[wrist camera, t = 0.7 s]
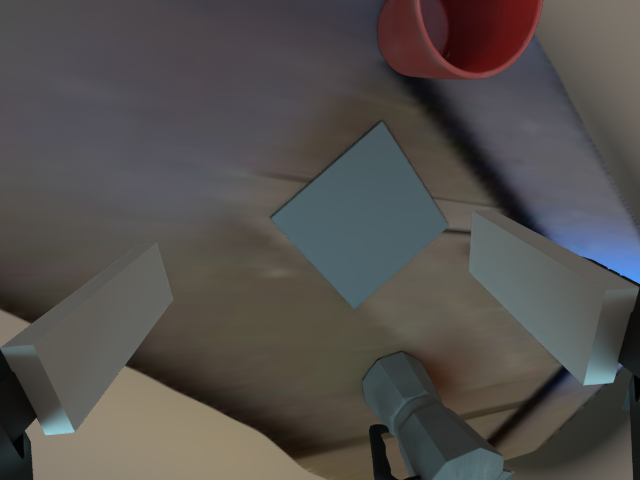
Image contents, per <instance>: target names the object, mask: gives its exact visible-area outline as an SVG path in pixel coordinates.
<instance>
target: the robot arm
mask: <svg viewBox="0 0 640 480" xmlns="http://www.w3.org/2000/svg"><path fill="white" fill-rule="evenodd" d="M469 272H470V273H471V274H472V275H473V276H474V277H475V278H476V279H477V280H478V281H479V282H480V283H481V284H482V285H483V286H484V287H485V288H486V289H487V290H488V291H489V292H490V293H491V294H492V295H493V296H494V297H495V298H496V299H497V300H498V301H499V302H500V303H501V304H502V305H503V306H504V307H505V308H506V309H507V310H508V311H509V312H510V313H511V314H512V315H513V316H514V317H515V318H516V319H517V320H518V321H519V322H520V323H521V324H522V325H523V326H524V327H525V328H526V329H527V330H528V331H529V332H530V333H531V334H532V335H533V336H534V337H535V338H536V339H537V340H538V341H539V342H540V343H541V344H542V345H543V346H544V347H545V348H546V349H547V350H548V351H549V352H550V353H551V354H552V355H553V356H554V357H555V358H556V359H557V360H558V361H559V362H560V363H561V364H562V365H563V366H564V367H565V368H566V369H567V370H568V371H569V372H570V373H571V374H572V375H573V376H574V377H575V378H576V379H577V380H578V381H579V382H580V383H581V384H582V385H592V384H603V383H613V382H614V378H615V375H616V371H617V367H618V364H619V363H620V364H622V365H623V366H624V367H625V368H627V369H628V370H629V371H630V372H632V373H633V374H632V377H631V381H630V384H629V388H628V391H627V394H626V398H625V401H624V404H623V408H622V410H625V411H628V410H629V408H630V420H631V441H632V463H633V480H640V284H639V283H637V282H635V281H633V280H631V279H629V278H627V277H625V276H620V274H619V273H617V272H615V271H613V270H611V269H608V267H606V266H604V265H602V264H600V263H598V262H596V261H594V260H591V259H588V258H585V257H582V256H579V255H577V254H575V253H573V252H572V251H570V250H568V249H566V248H564V247H562V246H560V245H558V244H556V243H554V242H553V241H551V240H549V239H547V238H545V237H543V236H541V235H539V234H537V233H535V232H534V231H532V230H530V229H528V228H526V227H524V226H522V225H520V224H518V223H516V222H514V221H513V220H511V219H509V218H507V217H505V216H503V215H501V214H499V213H497V212H495V211H494V210H492V209H490V210H480V211H473V217H472V231H471V245H470V260H469ZM172 301H173V297H172V293H171V290H170V286H169V283H168V279H167V276H166V272H165V269H164V265H163V262H162V258H161V255H160V251H159V248H158V244H157V242H150V243H140V244H137V245H136V246H135V247H133V248H132V249H131V250H129V251H128V252H127V253H125V254H124V255H123V256H121V257H120V258H119V259H117V260H116V261H115V262H113V263H112V264H111V265H110V266H108V267H107V268H106V269H104V270H103V271H102V272H100V273H99V274H98V275H96V276H95V277H94V278H92V279H91V280H90V281H88V282H87V283H86V284H84V285H83V286H82V287H80V288H79V289H78V290H76V291H75V292H74V293H72V294H71V295H70V296H68V297H67V298H66V299H64V300H63V301H62V302H60V303H59V304H58V305H56V306H55V307H54V308H52V309H51V310H50V311H48V312H47V313H46V314H44V315H43V316H42V317H40V318H39V319H38V320H36V321H35V322H34V323H32V324H31V325H30V326H28V327H27V328H26V329H24V331H22V332H20V333H19V334H18V335H16V336H15V337H14V338H12V339H11V340H10V341H8V342H7V343H6V344H5V345H3V346H2V347H1V348H0V480H33V469H32V455H31V441H30V440H29V438H28V436H27V434H26V432H25V430H26V429H27V428H28V426H29V425H30V424H31V423H32V422H33V421H34V420H35V419H36V418H37V419H38V421H39V423H40V425H41V427H42V429H43V431H44V433H45V435H52V434H62V433H74V432H76V430H77V429H78V427H79V426H80V425H81V423H82V422H83V421H84V419H85V418H86V417H87V415H88V414H89V412H90V411H91V410H92V409H93V407H94V406H95V405H96V403H97V402H98V401H99V399H100V398H101V396H102V395H103V394H104V392H105V391H106V390H107V388H108V387H109V385H110V384H111V383H112V381H113V380H114V379H115V378H116V376H117V375H118V373H119V372H120V371H121V369H122V368H123V367H124V365H125V364H126V363H127V361H128V360H129V359H130V357H131V356H132V355H133V353H134V352H135V351H136V349H137V348H138V347H139V345H140V344H141V342H142V341H143V340H144V338H145V337H146V336H147V334H148V333H149V332H150V330H151V329H152V328H153V326H154V325H155V324H156V322H157V321H158V320H159V318H160V317H161V315H162V314H163V313H164V311H165V310H166V309H167V307H168V306H169V305H170V303H171V302H172Z"/></svg>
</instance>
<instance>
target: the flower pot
mask: <svg viewBox="0 0 640 480" xmlns="http://www.w3.org/2000/svg"><path fill="white" fill-rule="evenodd" d="M542 6H543V0H387V1H386V3H385V4H384V6H383V8H382V11H381V14H380V17H379V22H378V42H379V46H380V49H381V51H382V54H383V57H384V59H385V60H386V62H387V63H388V64H389V65H390V66H391V67H392V68H393V69H394V70H395V71H397V72H398V73H400V74H403V75H406V76H412V77H422V78H434V79H483V78H488V77H491V76H494V75H496V74H498V73H500V72H502V71H504V70H505V69H507V68H508V67H509V66H510V65H512V64H513V63H514V62H515V61H516V60H517V59H518V58H519V57H520V56H521V54H522V53H523V52H524V50H525V49H526V48H527V46H528V44H529V43H530V41H531V39H532V37H533V35H534V33H535V30H536V27H537V25H538V21H539V19H540V15H541V10H542Z"/></svg>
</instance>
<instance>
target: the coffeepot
mask: <svg viewBox="0 0 640 480" xmlns="http://www.w3.org/2000/svg"><path fill="white" fill-rule="evenodd" d="M362 384H363V393H364V398H365V402H366V404H367V405H368V406H369V407H370V409H371V410H372V411H373V412H374V413H375V415H376V416H377V417H378V418H379V420H380V421H381V422H382V423H383V424H384V425H382V424H375V425H372V426H370V429H369V434H370V443H371V451H372V460H373V470H374V478H375V480H398V479H396V478H395V477H394V476H392V475H391V468H390V465H389V462H388V459H387V457H386V446H385V443H384V441H383V439H382V437H381V434H383V433H386V432H387V433H388V432H390V433H391V434H392V435H394V436H395V437H397V439H398V440H399V447H400V452H401V455H402V457H403V460H404V463H405V465H406V468H407V470H408V473H409V476H410V477H409V478H406V479H404V480H511V478H512V476H511V475H512V474H514V472H513V471H509V470H506V469H503V456H502V455H501V454H500V453H499V452H498V451H497V450H496V449H495V448H494V447H492V446H491V445H490V444H489V443H488V442H487V441H486V440H485V439H484V438H483V437H481V436H480V435H479V434H478V433H477V432H476V431H475V430H474V429H473V428H472V427H470V426H469V425H468V424H467V423H466V422H465V421H464V420H463V419H462V418H460V417H459V416H458V415H457V414H456V413H455V412H454V411H452V410H450V409H448V408H446V407H445V406H444V405H443V404H442V401H441V397H440V395H439V393H438V392H437V390H436V388H435V386H434V385H433V383H432V381H431V379H430V377H429V376H428V374H427V372H426V370H425V368H424V367H423V365H422V363H421V361H419V360H417V359H415V358H414V357H412V356H411V355H408V354H406V353H403V352H399V353H394V354H390V355H387V356H385V357H383V358H381V359H380V360H377V361H376V362H375V363H374V364H373V365H372V366H371V368H370V369H369V370H368V372H367V373H366V375H365V378H364V380H363V381H362Z"/></svg>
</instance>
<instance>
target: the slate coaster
mask: <svg viewBox="0 0 640 480" xmlns="http://www.w3.org/2000/svg"><path fill="white" fill-rule="evenodd" d="M270 219H271V220H272V221H273V222H274V223H275V224H276V225H277V226H278V227H279V228H280V230H281V231H282V232H283V233H284V234H285V235H286V236H287V237H288V238H289V239H290V240H291V241H292V242H293V244H294V245H295V246H296V247H297V248H298V249H299V250H300V251H301V252H302V253H303V254H304V255H305V257H306V258H307V259H308V260H309V261H310V262H311V263H312V264H313V265H314V266H315V267H316V268H317V270H318V271H319V272H320V273H321V274H322V275H323V276H324V277H325V278H326V279H327V280H328V281H329V282H330V284H331V285H332V286H333V287H334V288H335V289H336V290H337V291H338V292H339V293H340V294H341V295H342V297H343V298H344V299H345V300H346V301H347V302H348V303H349V304H350V305H351V306H352V307H353V308H354V309H355V308H356V307H357V306H358V305H360V304H361V303H362V302H363V301H364V300H365V299H366V298H367V297H369V296H370V295H371V294H372V293H373V292H374V291H375V290H377V289H378V288H379V287H380V286H381V285H382V284H383V283H385V282H386V281H387V280H388V279H389V278H390V277H391V276H393V275H394V274H395V273H396V272H397V271H398V270H399V269H401V268H402V267H403V266H404V265H405V264H406V263H407V262H408V261H410V260H411V259H412V258H413V257H414V256H415V255H416V254H418V253H419V252H420V251H421V250H422V249H423V248H424V247H426V246H427V245H428V244H429V243H430V242H431V241H432V240H434V239H435V238H436V237H437V236H438V235H439V234H440V233H442V232H443V231H444V230H445V229H446V228H447V227H448V226H449V225H448V224H447V222H446V221H445V219H444V217H443V216H442V214H441V213H440V211H439V209H438V208H437V206H436V205H435V203H434V202H433V200H432V198H431V197H430V195H429V194H428V192H427V191H426V189H425V187H424V186H423V184H422V183H421V181H420V179H419V178H418V176H417V175H416V173H415V172H414V170H413V168H412V167H411V165H410V164H409V162H408V161H407V159H406V157H405V156H404V154H403V153H402V151H401V149H400V148H399V146H398V145H397V143H396V142H395V140H394V138H393V137H392V135H391V134H390V132H389V130H388V129H387V127H386V126H385V124H384V123H383V121H380V122H378V123H377V124H376V125H375V126H374V127H373V128H372V129H370V130H369V131H368V132H367V133H366V134H365V135H364V136H362V137H361V138H360V139H359V140H358V141H357V142H356V143H354V144H353V145H352V146H351V147H350V148H349V149H348V150H346V151H345V152H344V153H343V154H342V155H341V156H340V157H338V158H337V159H336V160H335V161H334V162H333V163H332V164H330V165H329V166H328V167H327V168H326V169H325V170H324V171H322V172H321V173H320V174H319V175H318V176H317V177H316V178H314V179H313V180H312V181H311V182H310V183H309V184H308V185H306V186H305V187H304V188H303V189H302V190H301V191H300V192H298V193H297V194H296V195H295V196H294V197H293V198H292V199H290V200H289V201H288V202H287V203H286V204H285V205H284V206H282V207H281V208H280V209H279V210H278V211H277V212H276V213H274V214H273V215H272V216H271V217H270Z"/></svg>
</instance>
